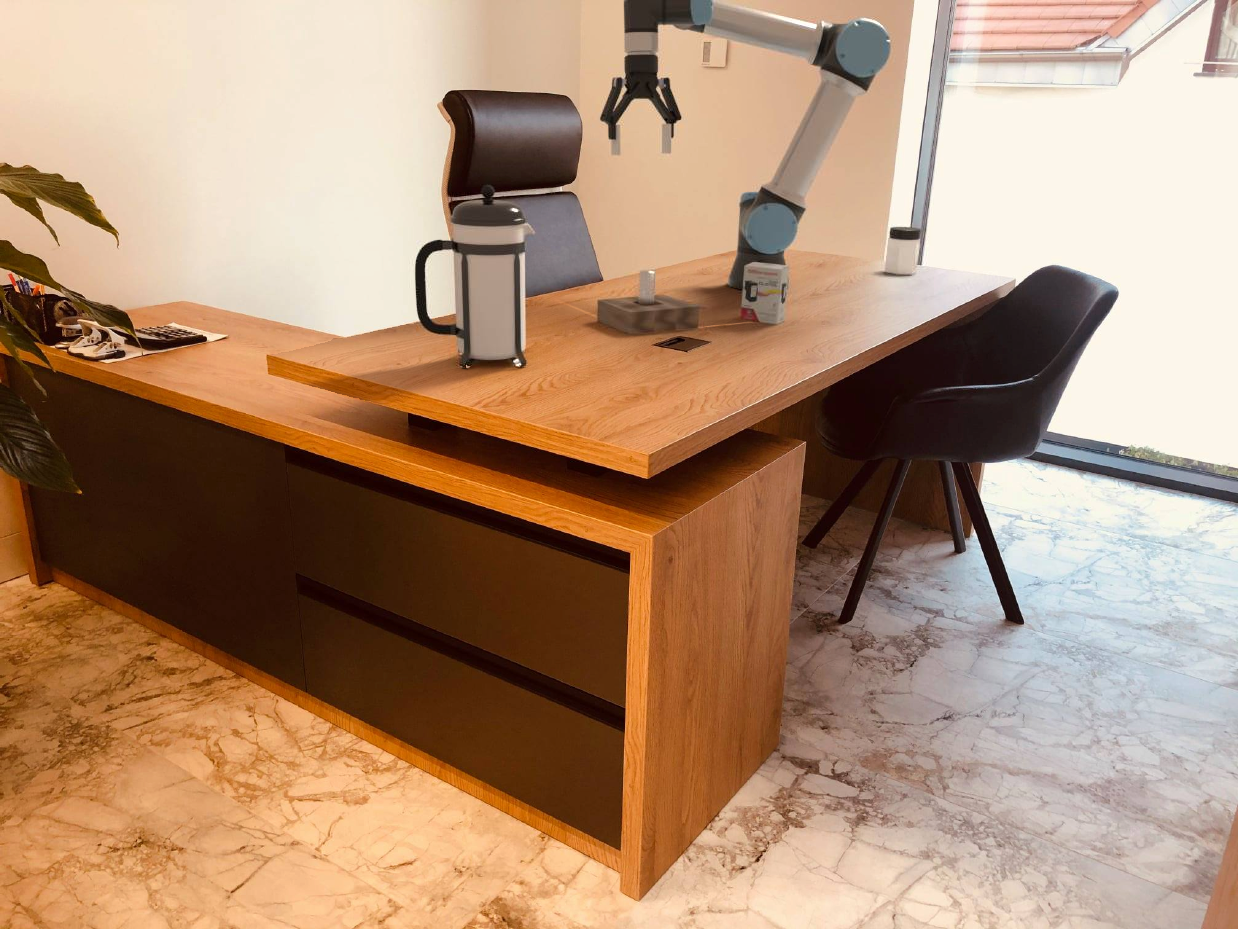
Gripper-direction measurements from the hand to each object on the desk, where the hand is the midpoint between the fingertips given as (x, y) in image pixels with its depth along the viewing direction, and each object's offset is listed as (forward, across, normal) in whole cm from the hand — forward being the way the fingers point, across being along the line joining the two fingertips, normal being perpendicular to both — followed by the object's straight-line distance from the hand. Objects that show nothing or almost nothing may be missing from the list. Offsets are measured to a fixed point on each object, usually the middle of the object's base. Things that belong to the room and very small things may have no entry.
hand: (641, 154), depth 231 cm
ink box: (+33, -8, +37) cm, 50 cm away
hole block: (+32, +17, +30) cm, 48 cm away
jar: (+34, -83, +2) cm, 90 cm away
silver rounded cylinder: (+32, +18, +30) cm, 48 cm away
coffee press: (+32, +60, +44) cm, 81 cm away
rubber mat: (+32, +3, +18) cm, 37 cm away
